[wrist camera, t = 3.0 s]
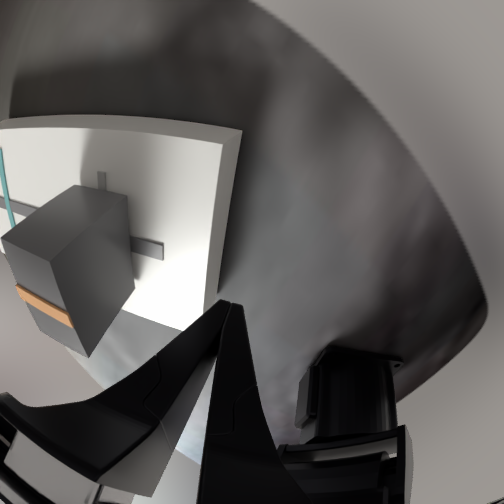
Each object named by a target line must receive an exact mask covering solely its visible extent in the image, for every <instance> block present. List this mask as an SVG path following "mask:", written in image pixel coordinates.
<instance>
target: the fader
mask: <svg viewBox="0 0 504 504" xmlns="http://www.w3.org/2000/svg"><path fill="white" fill-rule="evenodd" d="M0 239H1V242H2V245H3V248H4V251H5V254H6V256H7V259H8V262H9V265H10V267H11V270H12V272H13V275H14V277H15V280H16V282H17V285H16V288H17V290H18V293H19V295H20V297H21V299H23V300H25V302H26V304H27V306H28V308H29V310H30V312H31V314H32V316H33V318H34V320H35V322H36V324H37V326H38V327H39V329H40V331H42V332H43V333H45V334H46V335H48V336H50V337H51V338H53V339H55V340H56V341H58V342H60V343H61V344H63V345H65V346H67V347H68V348H70V349H72V350H74V351H76V352H78V353H79V354H81V355H83V356H85V357H87V358H89V357H90V355H91V354H92V352H93V351H94V349H95V347H96V346H97V344H98V343H99V341H100V340H101V338H102V337H103V335H104V333H105V332H106V330H107V329H108V327H109V326H110V324H111V323H112V321H113V320H114V318H115V317H116V316H117V314H118V313H119V311H120V310H121V308H122V307H123V305H124V304H125V302H126V301H127V300H128V298H129V297H130V295H131V294H132V293H133V291H134V290H135V282H134V274H133V266H132V256H131V246H130V234H129V219H128V198H127V195H123V194H119V193H114V192H109V191H104V190H100V189H95V188H90V187H85V186H80V185H73V186H71V187H70V188H68V189H67V190H65V191H64V192H62V193H60V194H59V195H57V196H56V197H54V198H53V199H51V200H50V201H48V202H47V203H45V204H44V205H43V206H41V207H40V208H38V209H37V210H36V211H34V212H33V213H31V214H30V215H29V216H27V217H26V218H25V219H23V220H22V221H21V222H19V223H18V224H17V225H15V226H14V227H13V228H12V229H10V230H9V231H8V232H7V233H5V234H4V235H3V236H2V237H1V238H0Z"/></svg>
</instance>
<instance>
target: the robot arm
mask: <svg viewBox="0 0 504 504" xmlns="http://www.w3.org/2000/svg"><path fill="white" fill-rule="evenodd" d="M216 358H217V359H216ZM215 360H216V366H215V372H214V379H213V385H212V392H211V398H210V405H209V412H208V419H207V426H206V433H205V440H204V447H203V454H202V462H201V469H200V477H199V485H198V492H197V500H196V504H410V497H411V487H412V478H413V452H412V440H411V438H410V435H409V432H408V430H407V427H406V425H401V426H398V423H397V410H396V400H395V391H394V383H393V375H394V374H395V373H396V372H397V371H398V370H399V369H400V368H401V367H402V366H403V359H402V358H399V357H392V356H386V355H379V354H373V353H367V352H361V351H355V350H350V349H344V348H339V347H334V346H330V347H327V348H325V349H324V351H323V352H322V354H321V355H320V357H319V358H318V360H317V361H316V363H315V364H314V365H312V366H311V367H309V369H308V370H307V372H306V373H305V375H304V376H303V378H302V379H301V381H300V382H299V391H298V400H297V409H296V417H295V427H296V428H298V429H301V436H300V444H299V445H288V444H282V445H279V447H278V449H277V450H276V447H275V444H274V441H273V439H272V436H271V433H270V431H269V428H268V425H267V422H266V419H265V416H264V413H263V409H262V405H261V401H260V397H259V392H258V386H256V385H257V382H256V376H255V371H254V365H253V360H252V354H251V349H250V343H249V337H248V332H247V326H246V320H245V314H244V309H243V306H242V305H240V304H236V303H230V302H229V301H225V300H222V299H220V300H218V301H217V302H216V303H215V304H214V305H213V306H211V307H210V308H209V309H208V310H207V311H206V312H204V313H203V314H202V315H201V316H200V317H199V318H198V319H196V320H195V321H194V322H193V323H192V324H191V325H189V326H188V327H187V328H186V329H185V330H184V331H182V332H181V333H180V334H179V335H178V336H177V337H175V338H174V339H173V340H172V341H171V342H170V343H168V344H167V345H166V346H165V347H164V348H163V349H161V350H160V351H159V352H158V353H157V354H156V355H154V356H153V357H152V358H151V359H150V360H148V361H147V362H146V363H145V364H143V365H142V366H141V367H140V368H138V369H137V370H136V371H134V372H133V373H131V374H130V375H128V376H127V377H125V378H124V379H122V380H121V381H119V382H117V383H116V384H114V385H113V386H111V387H109V388H108V389H106V390H104V391H103V392H101V393H100V394H98V395H96V396H95V397H92V398H90V399H87V400H85V401H80V402H74V403H67V404H61V405H52V406H44V407H29V406H26V405H23V404H22V403H20V402H19V401H18V400H16V399H15V398H14V397H13V396H12V395H10V394H9V393H8V392H5V393H1V394H0V499H1V500H2V501H3V502H4V503H5V504H131V503H132V500H133V497H134V495H135V494H137V495H142V496H146V497H152V495H153V493H154V491H155V489H156V487H157V485H158V483H159V481H160V479H161V476H162V474H163V472H164V470H165V468H166V466H167V464H168V461H169V460H170V458H171V455H172V453H173V451H174V449H175V447H176V445H177V443H178V440H179V438H180V436H181V434H182V432H183V430H184V428H185V426H186V423H187V421H188V419H189V417H190V415H191V413H192V410H193V408H194V406H195V404H196V402H197V400H198V398H199V395H200V393H201V391H202V389H203V387H204V385H205V382H206V380H207V378H208V376H209V374H210V371H211V369H212V367H213V365H214V363H215ZM393 453H397V457H393V458H390V457H389V454H393ZM487 504H504V497H502V498H500V499H498V500H495V501H493V502H490V503H487Z"/></svg>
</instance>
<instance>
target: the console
mask: <svg viewBox="0 0 504 504" xmlns="http://www.w3.org/2000/svg"><path fill="white" fill-rule="evenodd" d="M241 136H242V130H237V129H232V128H226V127H220V126H214V125H208V124H201V123H194V122H187V121H179V120H170V119H161V118H150V117H137V116H120V115H49V116H33V117H22V118H12V119H6V120H3V121H0V238H1V237H2V236H3V235H4V234H5V233H7V232H8V231H9V230H10V229H12V228H13V227H14V226H15V225H17V224H18V223H19V222H21V221H22V220H23V219H25V218H26V217H27V216H29V215H30V214H31V213H33V212H34V211H36V210H37V209H38V208H40V207H41V206H43V205H44V204H45V203H47V202H48V201H50V200H51V199H53V198H54V197H56V196H57V195H59V194H60V193H62V192H64V191H65V190H67V189H68V188H70V187H71V186H73V185H80V186H85V187H90V188H95V189H100V190H104V191H109V192H114V193H119V194H123V195H127V198H128V219H129V234H130V246H131V256H132V266H133V274H134V282H135V290H134V291H133V293H132V294H131V295H130V297H129V298H128V300H127V301H126V302H125V304H124V305H123V307H122V308H121V309H123V310H126V311H128V312H131V313H134V314H136V315H139V316H142V317H145V318H147V319H150V320H153V321H156V322H159V323H161V324H164V325H167V326H170V327H173V328H176V329H179V330H182V331H184V330H185V329H186V328H187V327H188V326H189V325H191V324H192V323H193V322H194V321H195V320H196V319H198V318H199V317H200V316H201V315H202V314H203V313H204V312H206V311H207V310H208V309H209V308H210V307H211V306H213V305H214V303H215V300H216V295H217V288H218V281H219V273H220V266H221V259H222V252H223V246H224V239H225V232H226V226H227V219H228V213H229V207H230V200H231V194H232V188H233V182H234V176H235V170H236V165H237V159H238V153H239V147H240V142H241ZM0 249H1V251H2V252H3V253H4V254H5V251H4V248H3V245H2V242H1V239H0Z"/></svg>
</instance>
